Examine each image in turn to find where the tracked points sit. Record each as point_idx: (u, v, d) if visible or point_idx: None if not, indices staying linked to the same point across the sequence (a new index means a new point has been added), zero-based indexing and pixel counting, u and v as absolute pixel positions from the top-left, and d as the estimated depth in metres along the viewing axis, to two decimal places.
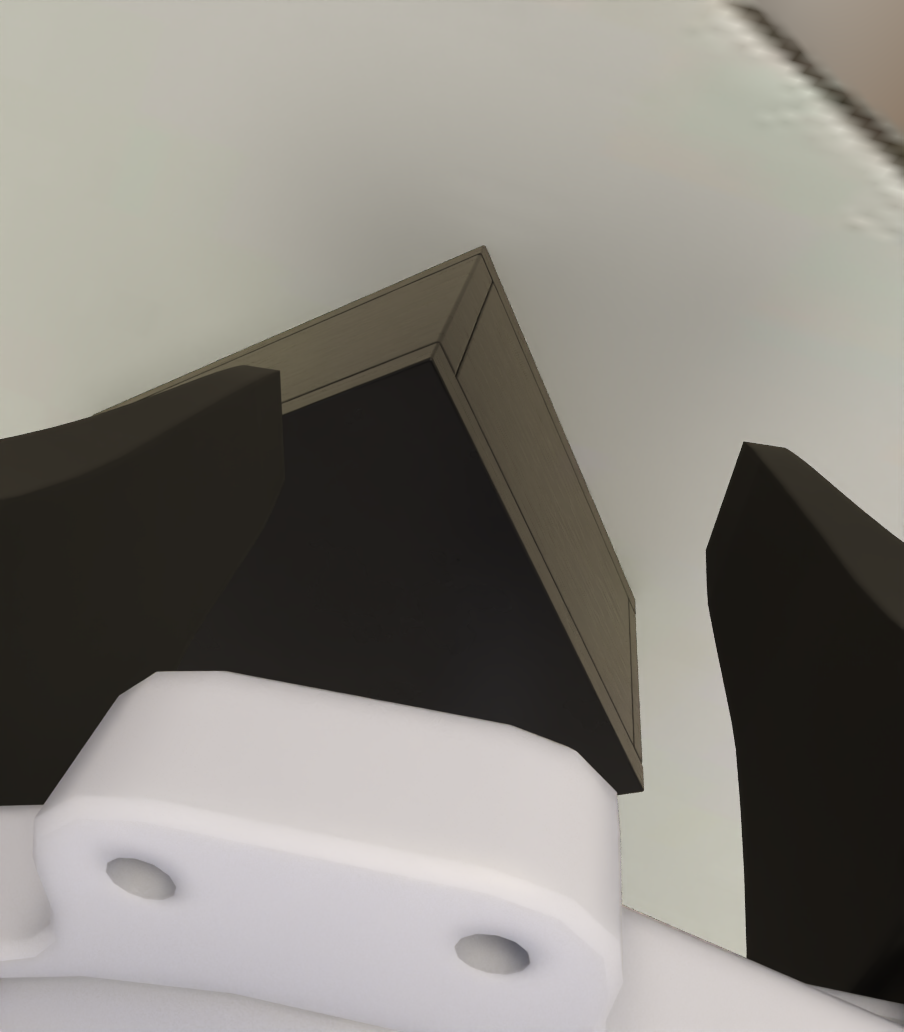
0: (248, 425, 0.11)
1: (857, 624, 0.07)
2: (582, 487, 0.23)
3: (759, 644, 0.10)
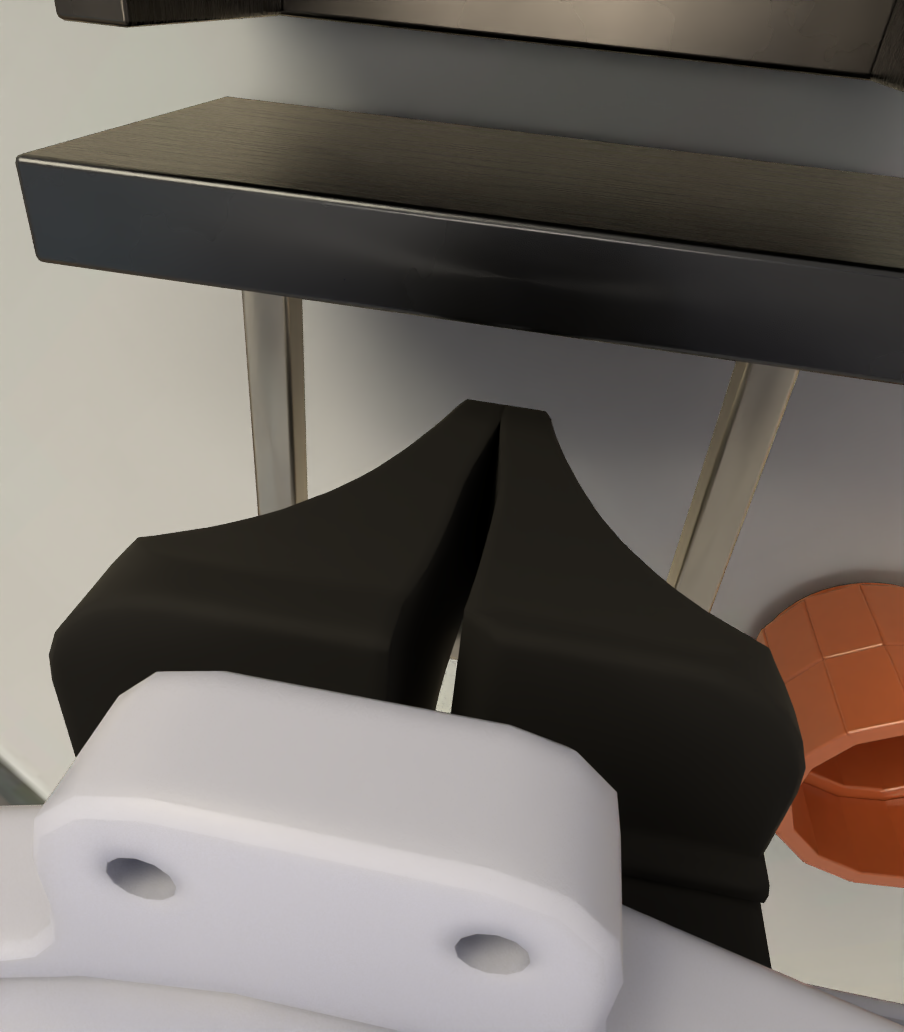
0: (491, 464, 0.11)
1: None
2: None
3: None
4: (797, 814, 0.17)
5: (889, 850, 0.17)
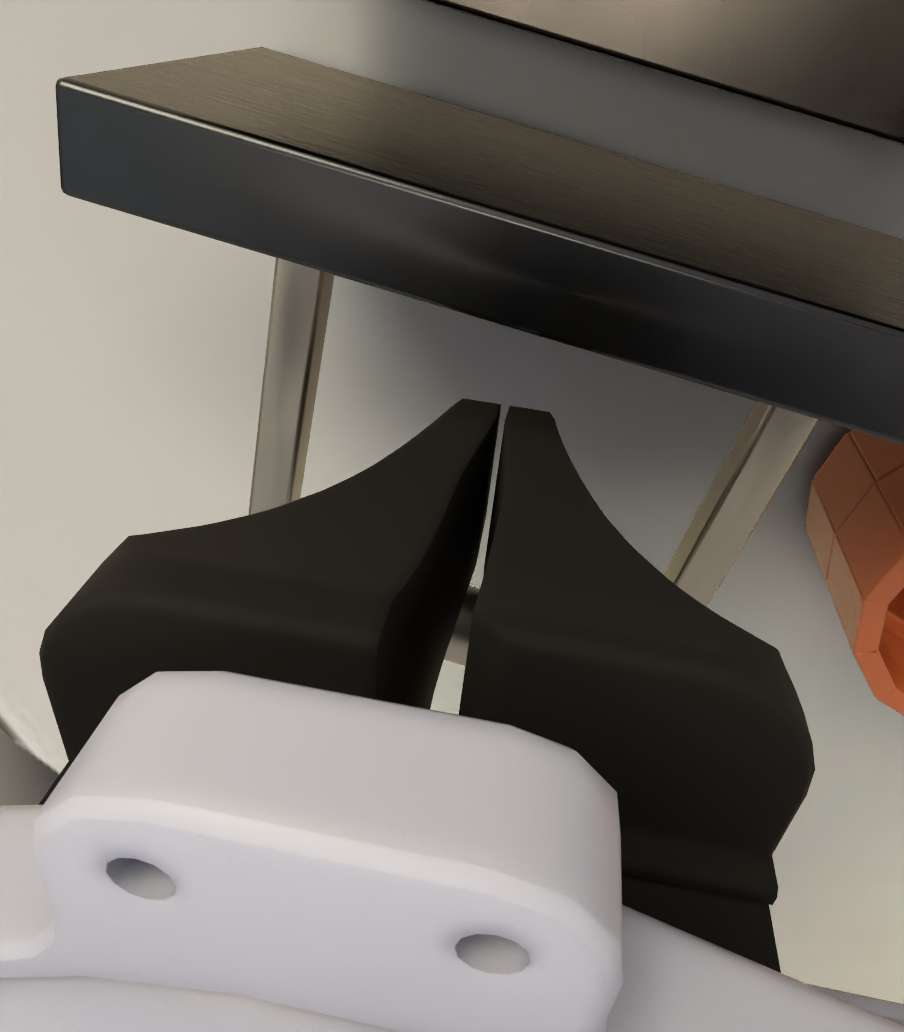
0: (486, 463, 0.11)
1: None
2: None
3: None
4: None
5: None
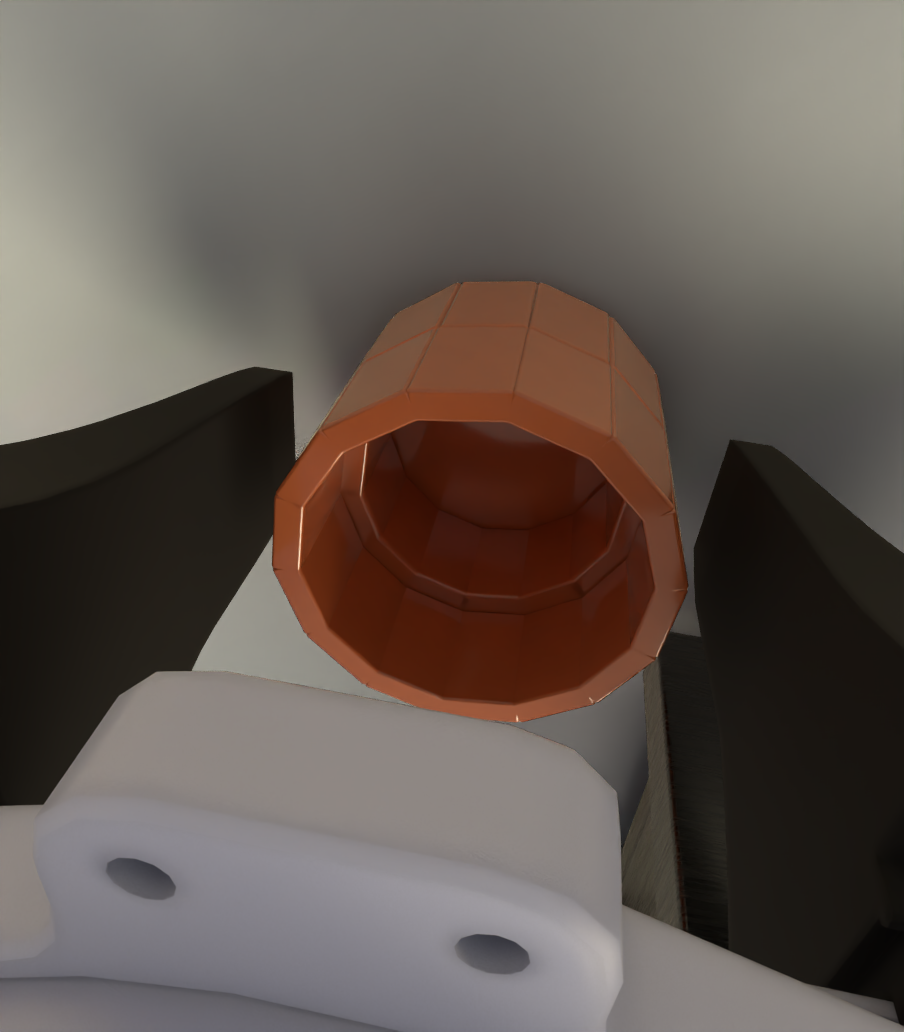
0: (261, 427, 0.11)
1: (837, 621, 0.07)
2: None
3: (743, 641, 0.10)
4: None
5: None
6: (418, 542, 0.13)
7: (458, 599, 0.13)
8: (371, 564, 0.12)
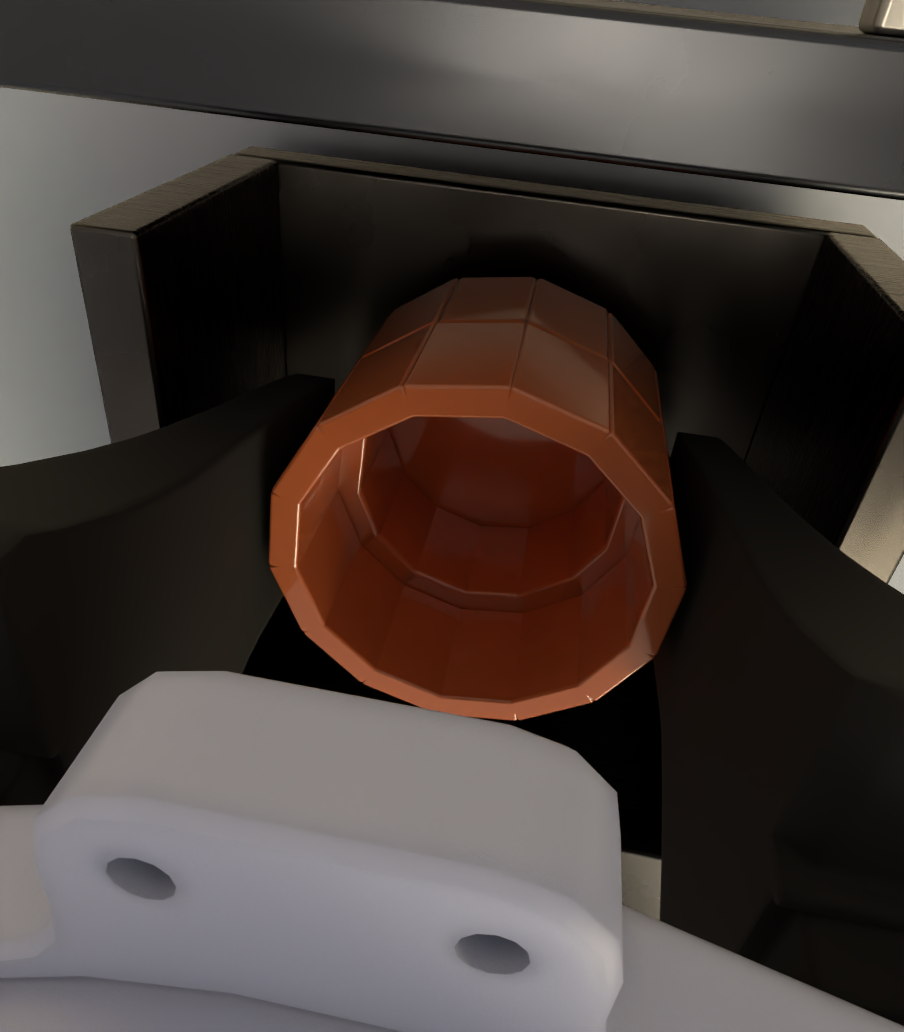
0: (307, 434, 0.11)
1: (753, 606, 0.07)
2: None
3: (682, 630, 0.10)
4: None
5: None
6: (416, 539, 0.13)
7: (456, 597, 0.12)
8: (369, 562, 0.12)
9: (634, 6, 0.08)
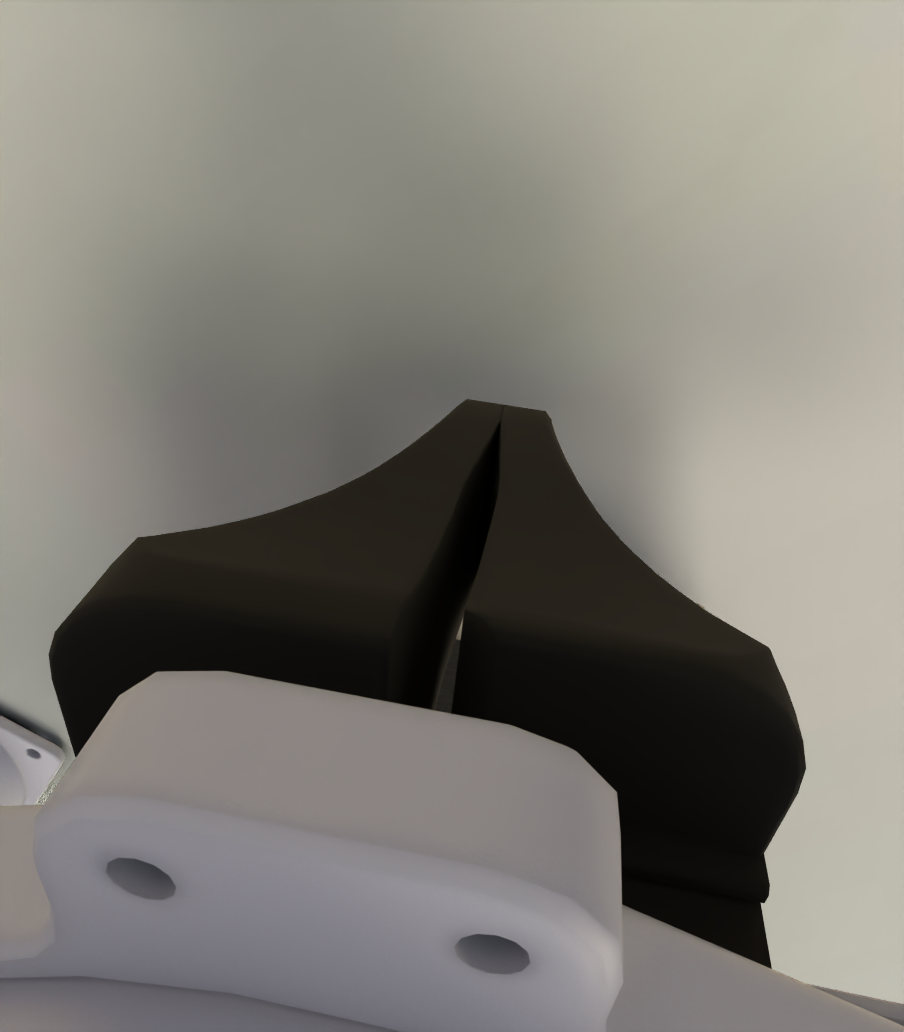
0: (491, 464, 0.11)
1: None
2: None
3: None
4: None
5: None
6: None
7: None
8: None
9: None
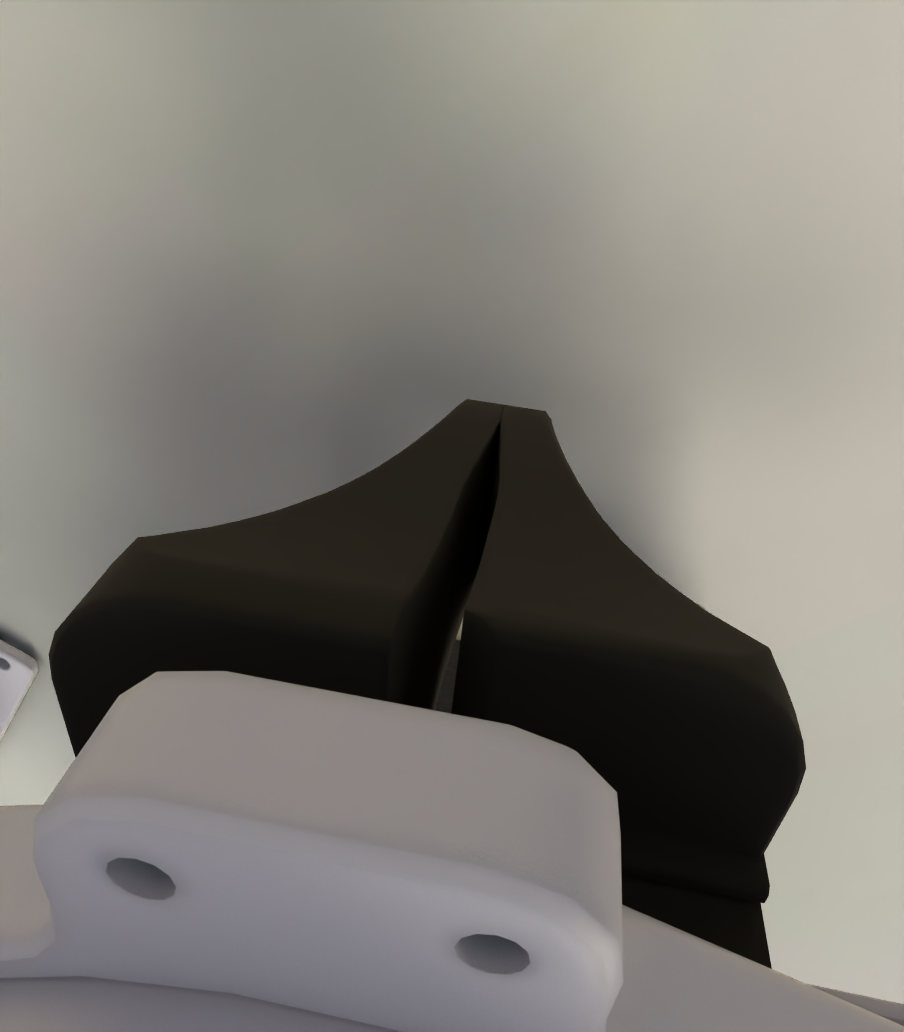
0: (491, 464, 0.11)
1: None
2: None
3: None
4: None
5: None
6: None
7: None
8: None
9: None
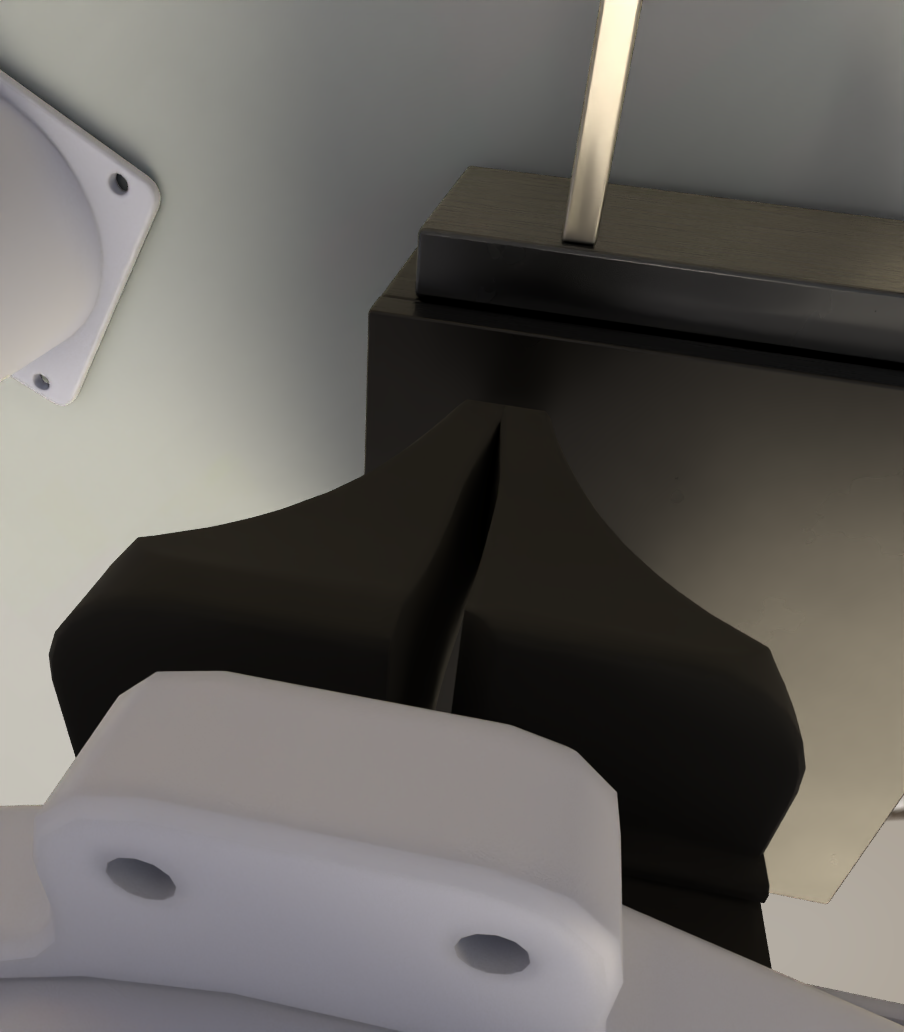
0: (491, 464, 0.11)
1: None
2: None
3: None
4: None
5: None
6: None
7: None
8: None
9: (785, 246, 0.14)
